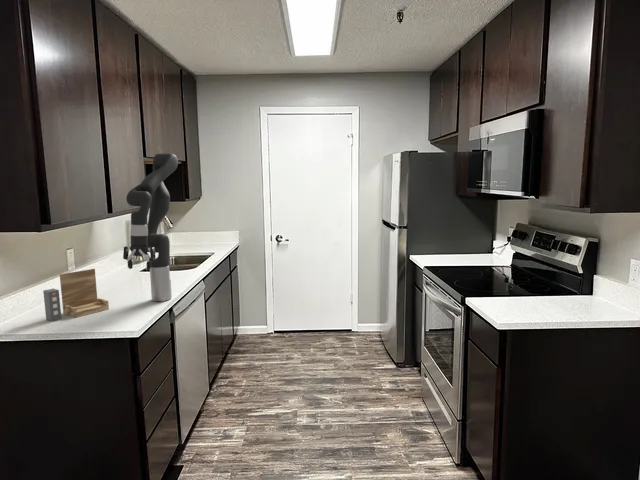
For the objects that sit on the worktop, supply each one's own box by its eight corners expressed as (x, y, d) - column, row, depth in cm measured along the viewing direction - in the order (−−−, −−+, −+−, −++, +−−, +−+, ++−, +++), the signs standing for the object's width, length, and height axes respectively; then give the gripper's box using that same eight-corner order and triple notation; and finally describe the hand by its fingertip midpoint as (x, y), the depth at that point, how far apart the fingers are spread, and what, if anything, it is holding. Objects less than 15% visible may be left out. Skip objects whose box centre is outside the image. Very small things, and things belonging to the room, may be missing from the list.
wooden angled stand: (108, 309, 195) (105, 271, 193) (75, 317, 183) (71, 277, 181) (96, 305, 202) (93, 268, 199) (63, 313, 190) (59, 274, 187)
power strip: (61, 319, 181) (58, 290, 179) (51, 321, 178) (48, 292, 176) (56, 317, 184) (53, 288, 182) (46, 319, 181) (43, 290, 179)
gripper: (157, 234, 197) (158, 268, 198) (128, 233, 197) (128, 267, 199) (150, 235, 189) (150, 271, 191) (120, 234, 190) (120, 269, 191)
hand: (139, 269), depth 195 cm, fingers open, 8 cm apart
